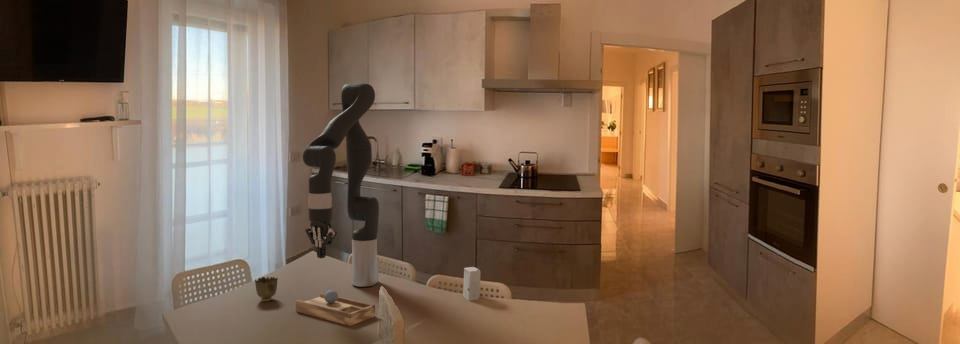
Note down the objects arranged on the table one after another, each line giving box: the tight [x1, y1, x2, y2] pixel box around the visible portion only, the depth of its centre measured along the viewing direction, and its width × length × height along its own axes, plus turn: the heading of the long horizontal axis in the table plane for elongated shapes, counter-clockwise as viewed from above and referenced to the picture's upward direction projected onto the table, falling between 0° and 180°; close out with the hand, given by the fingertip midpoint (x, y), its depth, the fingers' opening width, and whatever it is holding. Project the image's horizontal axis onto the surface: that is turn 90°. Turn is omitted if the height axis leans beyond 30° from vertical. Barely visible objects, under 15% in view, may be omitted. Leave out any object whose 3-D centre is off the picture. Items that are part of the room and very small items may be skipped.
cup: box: [254, 276, 279, 303], centre depth 190 cm, size 8×7×8 cm
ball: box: [324, 289, 339, 303], centre depth 181 cm, size 4×4×4 cm
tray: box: [295, 292, 376, 327], centre depth 178 cm, size 11×25×4 cm, turn 58°
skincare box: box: [462, 266, 482, 302], centre depth 192 cm, size 6×4×12 cm
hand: (321, 257), depth 180 cm, fingers closed
